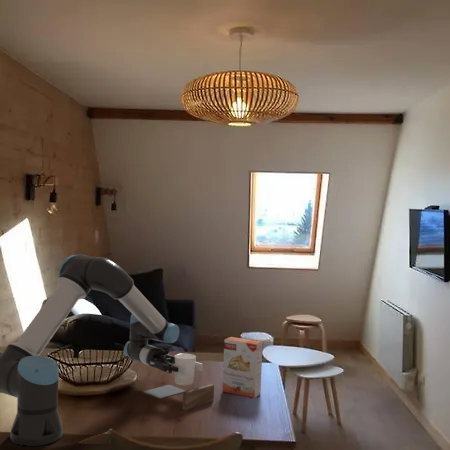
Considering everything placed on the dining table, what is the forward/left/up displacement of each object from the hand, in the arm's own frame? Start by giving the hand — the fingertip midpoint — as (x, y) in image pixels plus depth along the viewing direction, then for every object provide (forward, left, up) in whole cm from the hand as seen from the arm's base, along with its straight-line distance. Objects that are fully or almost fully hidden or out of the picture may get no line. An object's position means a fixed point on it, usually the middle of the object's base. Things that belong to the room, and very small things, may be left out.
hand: (193, 369), depth 209 cm
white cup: (-4, +3, -6) cm, 8 cm away
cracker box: (+18, +11, -12) cm, 25 cm away
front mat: (-11, +11, -12) cm, 20 cm away
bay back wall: (+2, -2, -12) cm, 13 cm away
